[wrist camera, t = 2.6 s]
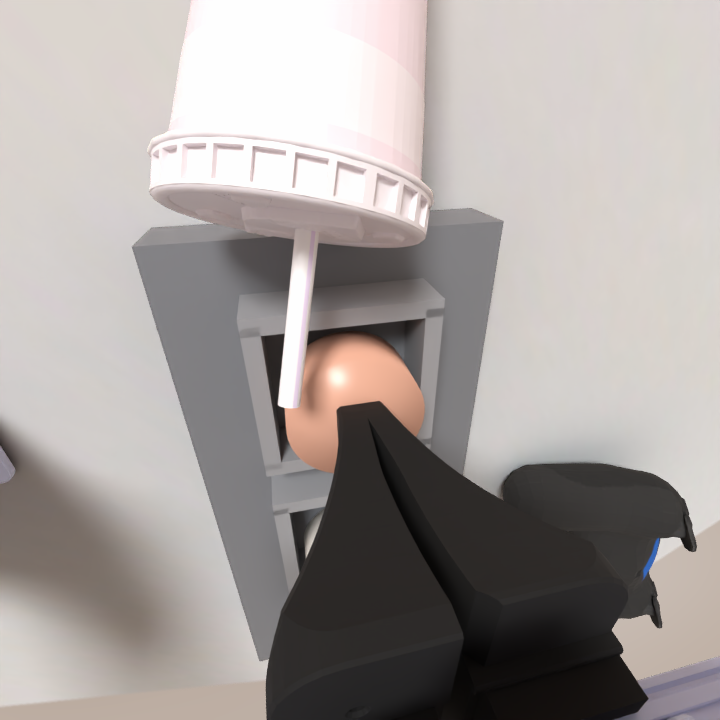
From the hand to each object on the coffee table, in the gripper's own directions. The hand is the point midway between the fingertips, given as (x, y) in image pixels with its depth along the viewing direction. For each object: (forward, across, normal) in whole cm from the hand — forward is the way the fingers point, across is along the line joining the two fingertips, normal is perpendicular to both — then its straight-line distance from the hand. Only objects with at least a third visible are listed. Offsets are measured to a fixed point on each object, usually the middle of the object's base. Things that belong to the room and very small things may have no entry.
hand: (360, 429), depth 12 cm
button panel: (+6, 0, +8) cm, 10 cm away
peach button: (+2, 0, 0) cm, 2 cm away
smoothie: (+4, -1, -15) cm, 16 cm away
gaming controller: (+7, -16, +17) cm, 24 cm away
